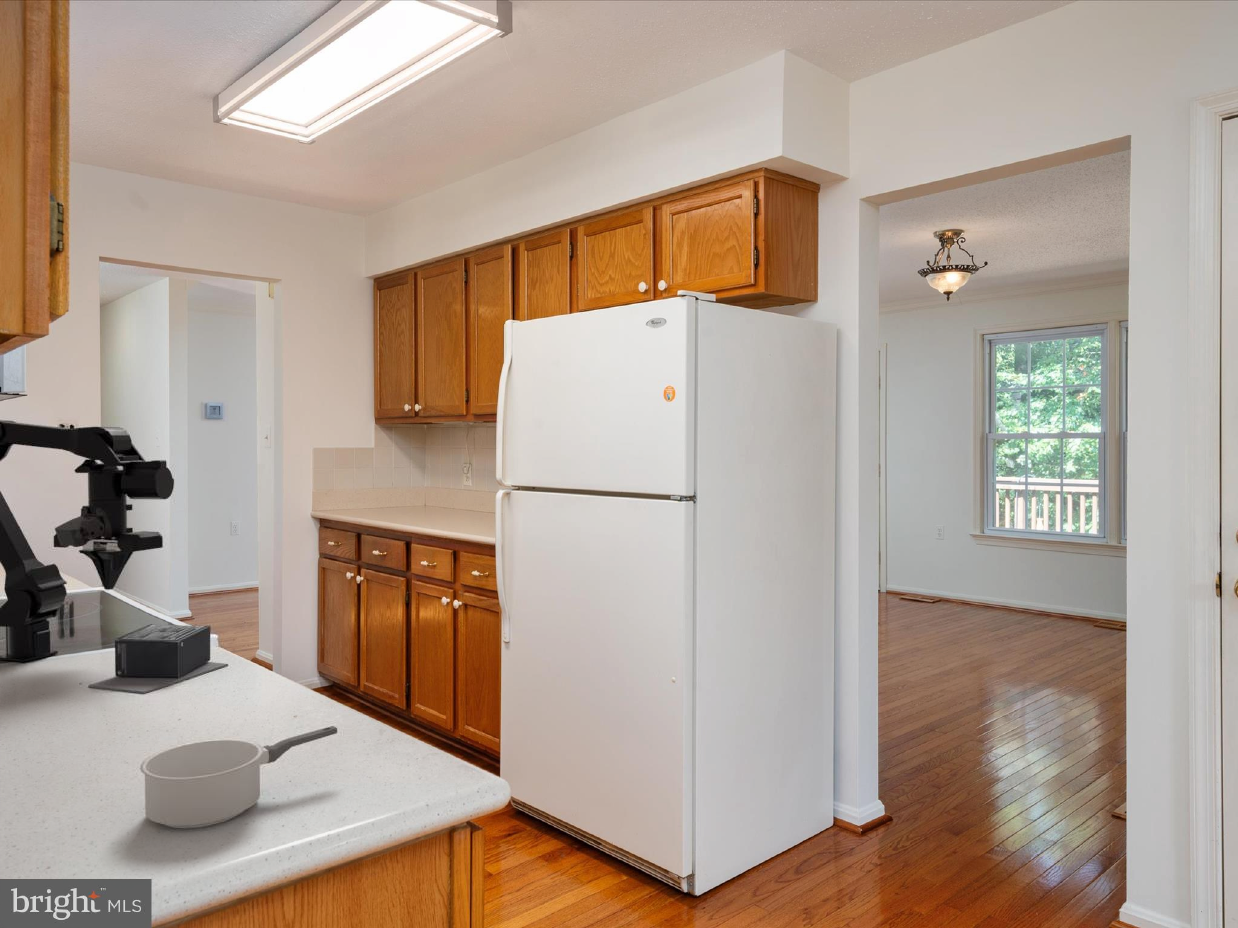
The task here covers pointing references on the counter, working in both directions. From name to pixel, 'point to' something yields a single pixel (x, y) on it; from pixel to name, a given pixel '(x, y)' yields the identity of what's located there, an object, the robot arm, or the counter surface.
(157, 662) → the small box
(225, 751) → the saucepan
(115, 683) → the mat
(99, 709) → the counter surface
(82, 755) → the counter surface
